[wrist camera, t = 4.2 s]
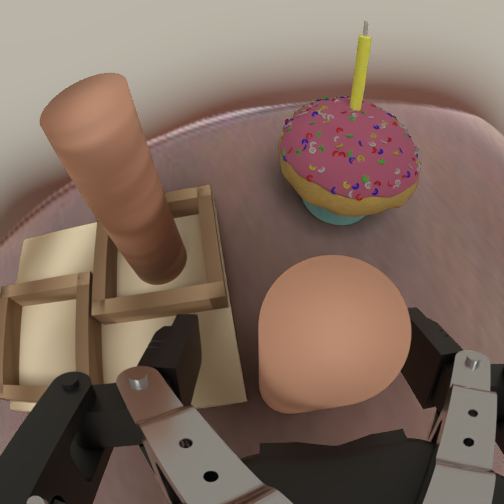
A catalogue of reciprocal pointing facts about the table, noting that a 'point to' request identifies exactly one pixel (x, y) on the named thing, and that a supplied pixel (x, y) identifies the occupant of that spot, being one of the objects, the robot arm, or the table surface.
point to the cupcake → (348, 154)
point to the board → (115, 262)
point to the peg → (330, 335)
